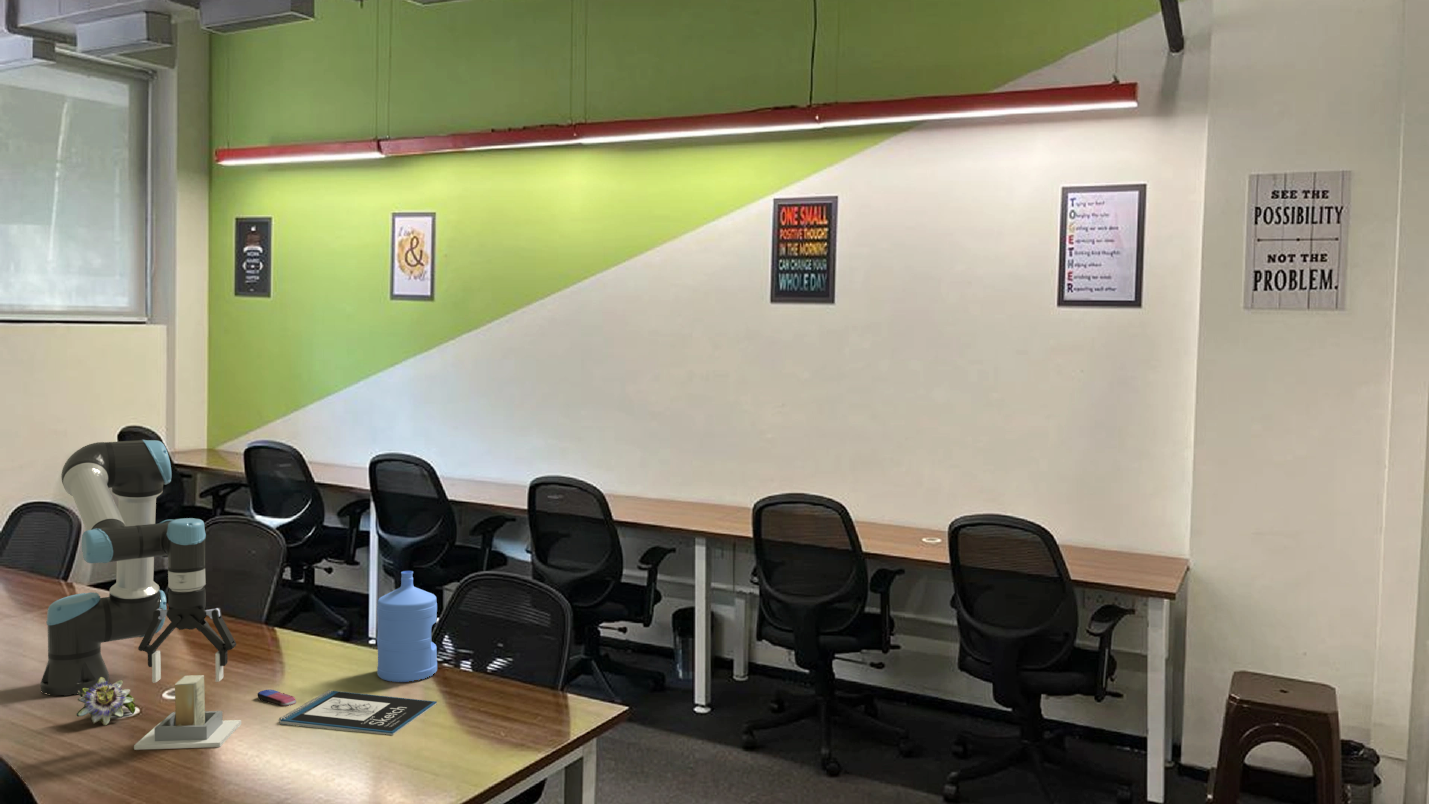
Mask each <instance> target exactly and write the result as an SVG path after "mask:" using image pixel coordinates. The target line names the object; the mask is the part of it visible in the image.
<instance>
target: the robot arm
mask: <svg viewBox="0 0 1429 804" xmlns="http://www.w3.org/2000/svg"><path fill="white" fill-rule="evenodd" d="M171 466H172V465H171V461H170V456H169V453H168V450H167V448H166V446H165V444H164V443H163V441H160V440H154V439H153V440H152V439H151V440H149V439H148V440H146V439H139V440H122V441H121V440H120V441H107V442H106V441H105V442H103V441H100V442H98V441H97V442H93V443H89V444H86V445H84V446H82V447H80V448H78V449H77V450H76V451H74V453H72V454H71V455H70V456H69V457H68V459H66V462H65V463H64V465H63V467H62V469H61V476H60V477H61V483H62V486H63V488H64V490H65V492H66V493H67V494H68V495H69V496H72V498H73V501H74V503H75V505H76V508H77V510H78V512H79V516H80V518H81V519H82V522H83V524H84V527H85V531H84V532H83V533H82V536H81V552H82V558H83V560H84V561H85V563H88V564H107V563H111V562H112V563H113V562H116V582H115V583H114V584H113V585H112V586H111V587H110V588H109V591H108V593H109V595H108V596H104V597H101V596H100V594H99V593H97V592H87V593H86V592H82V593H76V594H71V595H68V596H63V598H59V599H57V600H55V601H53V602H52V603H51V604H50V605H48V607H47V608H48V609H47V613H46V622H45V623H46V625H47V654H48V655H47V657H48V659H47V663H46V666H45V669H44V672H43V675H42V677H41V680H40V692H41V691H42V692H43V693H47V694H50V695H49V696H53V695H64V696H72V695H71V694H74V695H78V694H77V693H78V691H80V692H81V693H82V689H83V688H88V689H89V688H90V687H93V685H95V684H96V683H97V682H98V680H99V678H100V677H102V678H104V679H105V681H108V682H107V684H108V685H109V684H110V673H109V670H108V668H107V666H106V664H105V660H104V659H103V655H102V653H101V650H102V649H101V648H102V647H101V645H102V644H103V643H108V642H116V641H122V640H123V641H124V640H128V639H134V638H142V640H141V642H140V644H139V646H138V648H137V650H138V651H139V652H146V654H147V666H148V668H151V672H152V673H151V674H152V675H151V678H152V679H151V682H152V683H153V684H154V683H155V684H156V683H157V682H158V681H159V680H161V679H162V673H161V672H162V668H161V667H162V666H161V665H162V664H161V650H157V649H158V648H159V647H160V646H161V645H162V644H163V642H164V641H165V640H166V639H167V638H168V637H169V636H170V635H171V633H173V631H174V630H176V629H177V630H179V631H180V630H181V631H182V630H188V631H189V630H190V631H191V630H192V631H193V630H195V629H196V630H197V631H198V632H200V633H201V634H202V635H203V636H204V637H205V638H206V640H208V642H210V643H211V644H212V646H214V648H215V649H216V650H217V651H216V652H215V658H214V659H215V682H216V683H217V682H218V683H219V682H221V681H222V679H224V667H225V666H226V665H228V651H232V650H233V649H234V648H235V647H236V646H237V643H236V640H235V639H234V636H233V635H232V632H231V630H229V628H228V626H227V624H226V622H225V620H224V618H223V616H222V609H221V607H218V606H217V607H216V608H211V609H208V608H207V606H206V603H207V601H206V600H207V599H206V598H207V597H206V588H205V586H206V584H207V583H206V582H207V581H206V537H207V534H206V530H205V522H204V520H202V519H200V518H193V517H189V518H188V517H186V518H185V517H184V518H175V519H165V520H162V521H160V522H159V523H158V522H157V523H156V514H157V513H156V509H157V504H156V503H157V498H158V497H159V496H160V495H162V494H163V491H164V485H168V484H170V483H171V482H172V467H171ZM110 489H111V491H110ZM112 494H113V495H112ZM113 496H115V497H116V498H117V500H118V505H117V504H116V502H115V500H114V497H113ZM164 556H167V561H168V562H167V574H168V575H167V576H168V577H167V580H168V584H167V586H168V588H169V590H168V592H167V593H168V594H167V595H168V601H167V597H166V594H165V591H163V590H162V589H160V586H159V584H158V583H156V582H155V581H154V571H155V569H154V567H155V558H156V557H157V558H158V557H164ZM167 602H168V609H167ZM207 616H208V617H209V618H210V619H211V620H212V622H213V625H214V626H215V628H216V630H217V632H218V633H217V632H216V631H215V630H214V629H213V628H212V627H211V626H210V624H209V622H208V621H207V620H206V619H205V618H206V617H207ZM166 617H167V618H168V619H169V621H170V623H169V624H168V625H167V626H166V627H165V629H164V630H163V631H162V633H160V634H159V636H158V637H156V639H155V640H154V641H153V643H152V644H151V641H152V639H153V637H154V636H155V634H158V632H160V631H161V629H162V628H163V626H164V624H165V621H166ZM218 634H219V635H220V636H219V635H218ZM42 692H41V693H42ZM86 692H87V691H86ZM43 693H42V694H43Z"/></svg>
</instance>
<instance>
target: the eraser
mask: <svg viewBox="0 0 1429 804" xmlns="http://www.w3.org/2000/svg"><path fill="white" fill-rule="evenodd" d="M256 694H257V698H258V700H259V701H261V702H264V703H268V702H269V704H271V705H272V704H273V705H276V706H280V707H290V706H293V705H296V704H297V700H296V698H295V697H294V696H293V695H289V694H287V693H284V692H281V691H278V690H274V689H265V690H261V691H258V692H257V693H256ZM289 705H290V706H289Z"/></svg>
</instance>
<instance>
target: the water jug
mask: <svg viewBox="0 0 1429 804" xmlns="http://www.w3.org/2000/svg"><path fill="white" fill-rule="evenodd" d="M400 574H401V578H400V581H401V582H400V583H401V584H400V587H398V588H396V589H394V590H392V591H390V592H388V593H386V594H384V595H382V596H380V597H378V600H377V607H376V615H377V637H376V638H377V639H376V646H377V666H376V668H377V670H376V671H377V673H376V674H377V676H378V677H379V678H380V679H381V680H383V681H387V682H391V681H392V683H407V682H408V683H410V682H409V681H412V682H415V681H414V680H418V681H420V680H419V679H422V680H426V679H428V678H430V677H433V674H434V673H435V674H437V673H436V672H438V660H437V655H438V654H437V652H438V651H437V648H438V647H437V644H435V643H434V642H433V641H432V627H433V625H435V623H436V622H437V621H438V620H437V615H438V614H437V612H438V603H437V596H436V595H435V594H434V593H432V592H429V591H426V590H424V589H421V588H419V587H416V586H414V577H413V574H414V571H413V570H403V571H401V572H400ZM435 674H434V675H435ZM429 676H430V677H429ZM427 677H428V678H427ZM425 678H426V679H425Z"/></svg>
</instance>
